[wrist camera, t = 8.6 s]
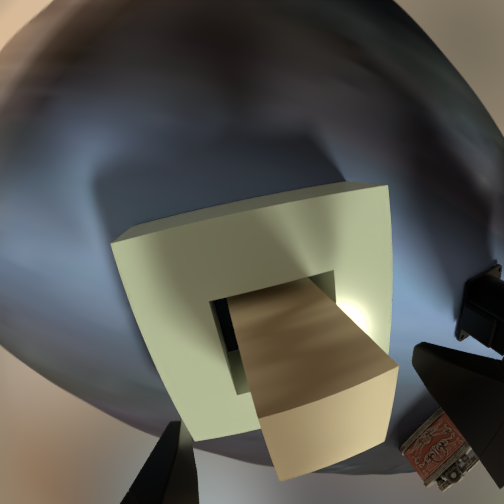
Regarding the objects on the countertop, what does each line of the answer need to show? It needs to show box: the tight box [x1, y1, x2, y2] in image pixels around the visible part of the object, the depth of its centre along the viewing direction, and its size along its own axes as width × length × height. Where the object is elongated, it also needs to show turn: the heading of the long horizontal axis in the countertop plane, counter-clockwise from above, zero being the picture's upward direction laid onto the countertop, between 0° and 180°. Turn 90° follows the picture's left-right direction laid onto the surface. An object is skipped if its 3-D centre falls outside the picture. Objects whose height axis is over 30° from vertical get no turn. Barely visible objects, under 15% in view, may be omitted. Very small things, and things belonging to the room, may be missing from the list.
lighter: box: [400, 408, 480, 492], centre depth 21 cm, size 8×3×10 cm, turn 144°
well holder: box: [111, 181, 392, 441], centre depth 15 cm, size 12×12×4 cm
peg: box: [226, 277, 399, 481], centre depth 12 cm, size 4×4×10 cm
